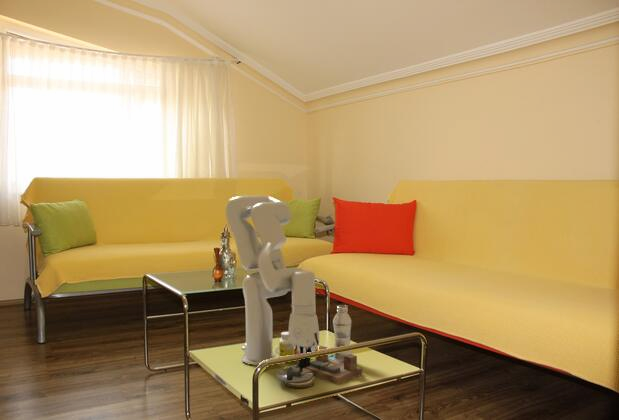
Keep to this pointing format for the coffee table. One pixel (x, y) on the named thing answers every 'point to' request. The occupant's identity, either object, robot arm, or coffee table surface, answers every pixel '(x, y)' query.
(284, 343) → the supplement bottle
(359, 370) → the stand
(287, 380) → the capstan
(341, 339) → the plastic bottle
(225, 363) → the coffee table surface
